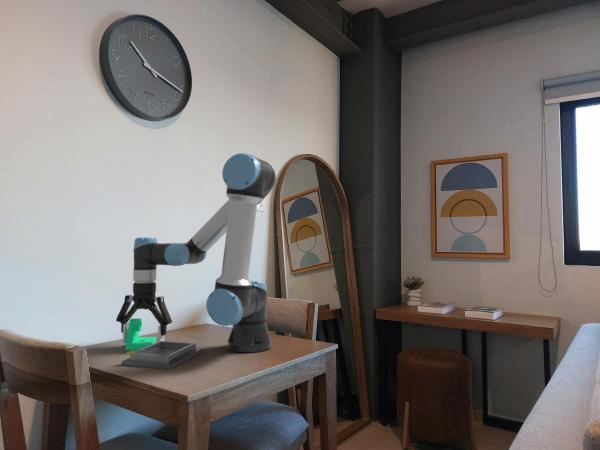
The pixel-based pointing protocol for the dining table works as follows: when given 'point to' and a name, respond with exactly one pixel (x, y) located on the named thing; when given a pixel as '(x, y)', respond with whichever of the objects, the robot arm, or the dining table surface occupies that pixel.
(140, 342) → the camera mount
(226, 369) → the dining table surface
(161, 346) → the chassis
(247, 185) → the robot arm
